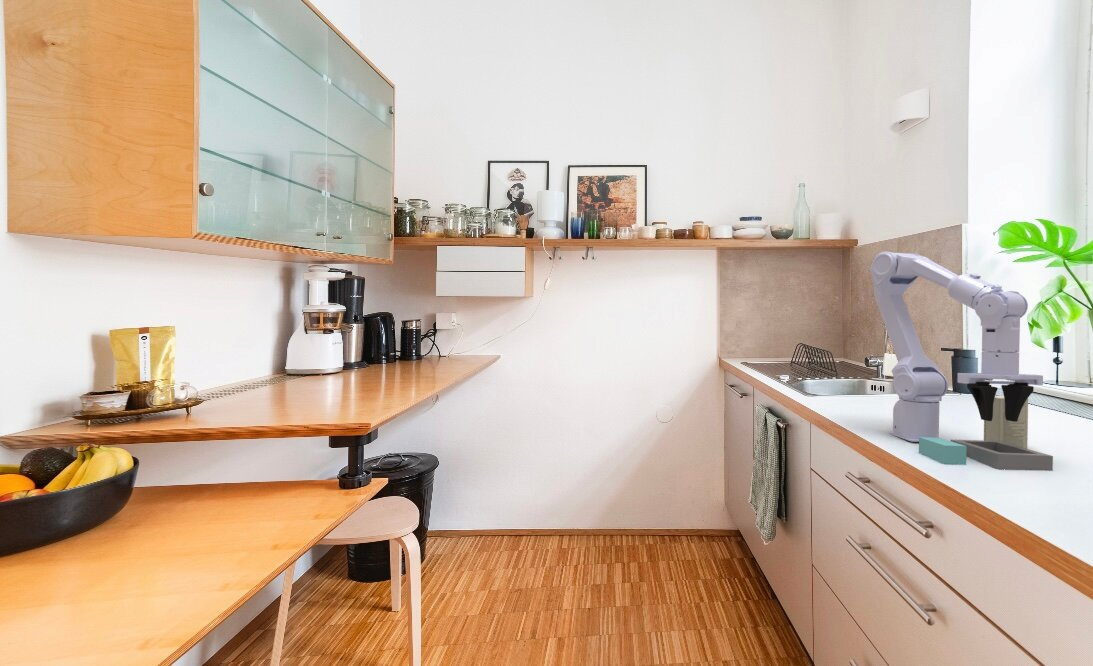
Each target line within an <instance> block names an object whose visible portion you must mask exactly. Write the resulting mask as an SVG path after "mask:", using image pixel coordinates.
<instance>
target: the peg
mask: <svg viewBox="0 0 1093 666" xmlns="http://www.w3.org/2000/svg"><path fill="white" fill-rule="evenodd" d="M918 453H919V454H921V455H923V456H925V457H927V458H929V459H931V460H933V461H935V462H938V463H940V464H943V465H955V466H957V465H962V466H963V465H964V466H965V465H967V457H966V446H965V445H961V444H958V443H955V442H951V441H950V440H949V439H944V438H942V437H939V438H930V437H919V442H918Z"/></svg>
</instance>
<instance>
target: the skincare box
mask: <svg viewBox="0 0 1093 666" xmlns="http://www.w3.org/2000/svg"><path fill="white" fill-rule="evenodd" d="M1028 424H1029V397H1028V398H1027V400H1026V401H1025V403H1024V405H1023V407H1022V409H1021V412H1020V415H1019V417H1018V420H1017V422H1013V421H1008V420H1006V418H1005V399H1004V395H995V398H994V403H993V418H992V421H986V420H983V441H1000V442H1004V443H1008V444H1011V445H1015V446H1018V447H1022V448H1026V449H1028V441H1029V440H1028V439H1029V438H1028V437H1029V436H1028V435H1029V434H1028V433H1029V430H1028V429H1029V427H1028V426H1029V425H1028Z"/></svg>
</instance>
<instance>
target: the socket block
mask: <svg viewBox="0 0 1093 666" xmlns="http://www.w3.org/2000/svg"><path fill="white" fill-rule="evenodd" d="M949 441H951V442H955V443H958V444H961V445H965V446H966V458H969V459H971V460H974V461H976V462H978V463H981V464H982V465H986V466H988V467H990V468H993V469H995V470H997V469H998V470H1000V471H1046V472H1047V471H1049V472H1050V471H1052V472H1053V471H1054V469H1053V468H1054V467H1053V466H1054V463H1053V462H1054V456H1053V455H1051V454H1048V453H1043V452H1040V451H1037V450H1032V449H1029V448H1027V449H1026V448H1022V447H1018V446H1015V445H1011V444H1008V443H1004V442H1000V441H984V440H981V439H980V440H978V439H977V440H974V439H950V440H949ZM1004 469H1005V470H1004ZM998 470H997V471H998Z"/></svg>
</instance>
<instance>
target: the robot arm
mask: <svg viewBox="0 0 1093 666" xmlns="http://www.w3.org/2000/svg"><path fill="white" fill-rule="evenodd" d="M869 272H870V275H871V278H872V281H873V296H874V300H875V301H876V302H875V303H876V305H877V308H878V311H879V313H880V316H881V318H882V322H883V324H884V327H885V330H886V332H887V335H888V338H889V341H890V343H891V347H892V348H893V352H894V354H895V357H896V360H897V363H896V365H894V366H893V368H892V370H891V373H892V376H893V377H892V378H893V382H892V383H893V384H892V386H893V389H894V392H895V394H897V396H898V400H897V401H896V402H895V403H894V405H893V409H892V431H888V434H889V435H892V436H894V437H896V438H900V439H903V440H906V441H907V442H908V441H909V442H911V443H912V442H913V443H919V437H930V438H940V405H941V404H940V402H942V397H944V396H945V395H946V394H947V392H948V391H949V381H948V379H947V377H946V376H945V374H943V373H942V372H941V370H940V369H939V367H938V364H937V363H936V362H935V361H933V360H932V359H930V358H928V356H927V355H926V353H925V351H924V349H923V346H922V343H921V341H920V338H919V335H918V332H917V330H916V327H915V325H914V322H913V319H912V318H911V315H910V313H909V309H908V307H907V304H906V302H905V299H904V297H903V295H904V293H905V292H907V291H908V290H909V288H910V287H911V286H912V285H913V284H914V283H915V282H916V281H917V280H918V278H919V277H920V278H923V279H925V280H927V281H929V282H931V283H934V284H936V285H938V286H940V287H943V288H945V289H947V294H948V297H950V298H951V299H954V300H955V301H957V302H959V303H960V304H963V305H965V306H967V307H968V308H971V309H972V310H974V312H975V313H976V315H977V316H978V317H979V319H980V326H981V327H982V328H981V330H982V331H981V371H980V372H966V373H964V372H963V373H962V372H957V383H958V384H966V386H967V387H966V388H967V389H968V391H969V392H970V394H971V395H972V397H973V399H974V401H975V405H976V406H977V409H978V413H979V417H980V420H981V421H984V420H986V421H992V418H993V403H994V398H995V396H997V391H998V390H999V388H998V386H992V385H1001V390H1002V393H1003V396H1004V399H1005V418H1006V420H1008V421H1013V422H1017V420H1018V417H1019V415H1020V412H1021V409H1022V407H1023V405H1024V403H1025V401H1026V400H1027V398H1028V399H1029V397H1031V394H1033V392H1034V391H1035V390H1034V386H1033V385H1035V386H1043V385H1044V375H1041V374H1026V373H1025V374H1022V373H1021V374H1020V342H1021V341H1020V339H1021V337H1020V334H1021V333H1020V332H1021V318H1023V317H1024V316H1025V315H1026V313H1027V312H1028V308H1029V307H1028V306H1029V304H1028V301H1027V298H1025V296H1024V295H1022V294H1021V293H1019V292H1018V291H1015V290H1014V291H1013V290H1009V291H1004V290H1003V286H1001V285H999V284H991V283H989V282H987V281H986V280H983V279H981V277H982V275H980V274H977V273H963V274H960V275H958V274H957V273H954V272H952V271H951V270H949V269H947V268H945V267H944V266H942V265H940V264H938V263H936V262H934V260H931V259H930V258H928V257H927V256H923V255H920V254H919V253H915V252H914V253H906V252H905V253H904V252H892V251H888V250H887V251H881V252H879V253H878V254H876V256H875V257H874V259H873V261H872V263H871V265H870V267H869ZM997 380H998V381H997ZM999 380H1000V381H999ZM1002 380H1003V381H1002Z"/></svg>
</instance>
